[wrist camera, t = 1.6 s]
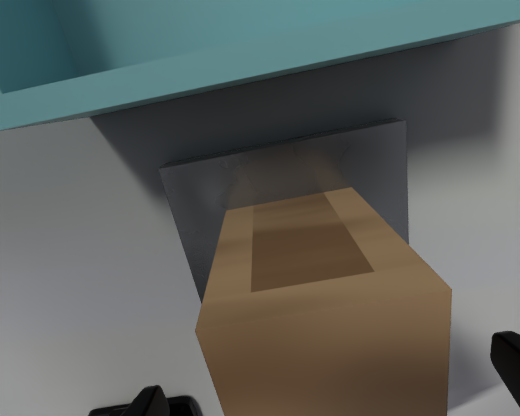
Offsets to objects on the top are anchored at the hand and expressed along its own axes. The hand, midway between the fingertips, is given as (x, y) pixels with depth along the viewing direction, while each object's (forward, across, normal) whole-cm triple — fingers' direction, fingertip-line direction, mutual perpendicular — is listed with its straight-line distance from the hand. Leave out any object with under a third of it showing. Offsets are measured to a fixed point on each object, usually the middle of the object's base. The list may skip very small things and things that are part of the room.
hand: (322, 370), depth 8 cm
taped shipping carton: (+6, 0, 0) cm, 6 cm away
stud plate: (+7, 0, 0) cm, 7 cm away
